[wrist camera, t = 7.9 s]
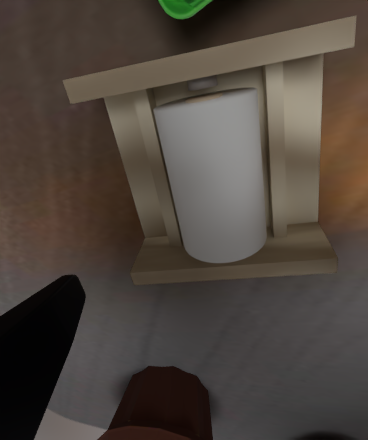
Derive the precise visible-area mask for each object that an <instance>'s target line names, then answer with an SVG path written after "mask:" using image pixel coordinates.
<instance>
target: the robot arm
mask: <svg viewBox="0 0 368 440" xmlns="http://www.w3.org/2000/svg"><path fill="white" fill-rule="evenodd" d="M85 298H86V296H85V292H84V289H83V287H82V285H81V283H80V281H79V279H78V277H77V276H76V275H64V276H61V277H60V278H58V279H57V280H55V281H54V282H52V283H51V284H49V285H48V286H46V287H45V288H43V289H41V290H40V291H38V292H37V293H35V294H34V295H32V296H31V297H29V298H28V299H26V300H25V301H23V302H21V303H20V304H18V305H17V306H15V307H14V308H12V309H11V310H9V311H8V312H6V313H5V314H3V315H1V316H0V440H34V438H35V435H36V433H37V430H38V428H39V425H40V423H41V420H42V418H43V416H44V413H45V411H46V408H47V406H48V403H49V401H50V398H51V396H52V393H53V391H54V388H55V386H56V383H57V381H58V378H59V376H60V373H61V371H62V368H63V366H64V363H65V361H66V358H67V356H68V354H69V351H70V348H71V346H72V343H73V340H74V337H75V334H76V330H77V327H78V323H79V320H80V317H81V313H82V310H83V306H84V303H85Z"/></svg>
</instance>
